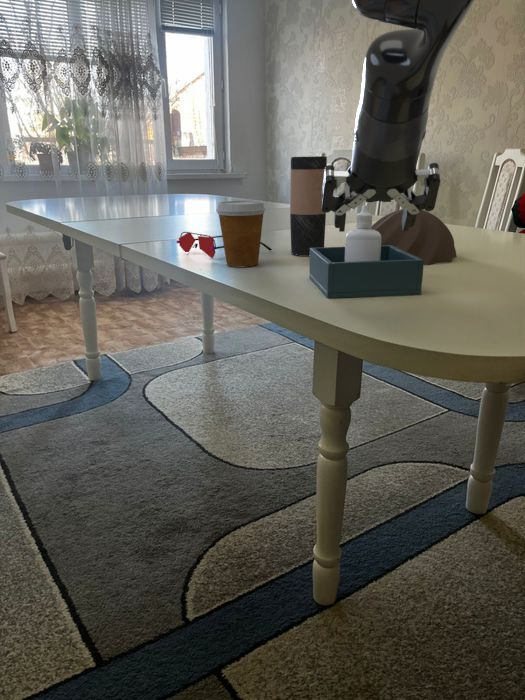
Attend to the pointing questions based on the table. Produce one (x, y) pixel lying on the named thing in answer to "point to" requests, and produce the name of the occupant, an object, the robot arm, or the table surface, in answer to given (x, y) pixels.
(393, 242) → the decorative dome
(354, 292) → the bin
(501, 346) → the table surface
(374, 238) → the eye dropper bottle
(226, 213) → the disposable coffee cup
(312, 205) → the travel mug
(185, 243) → the glasses
